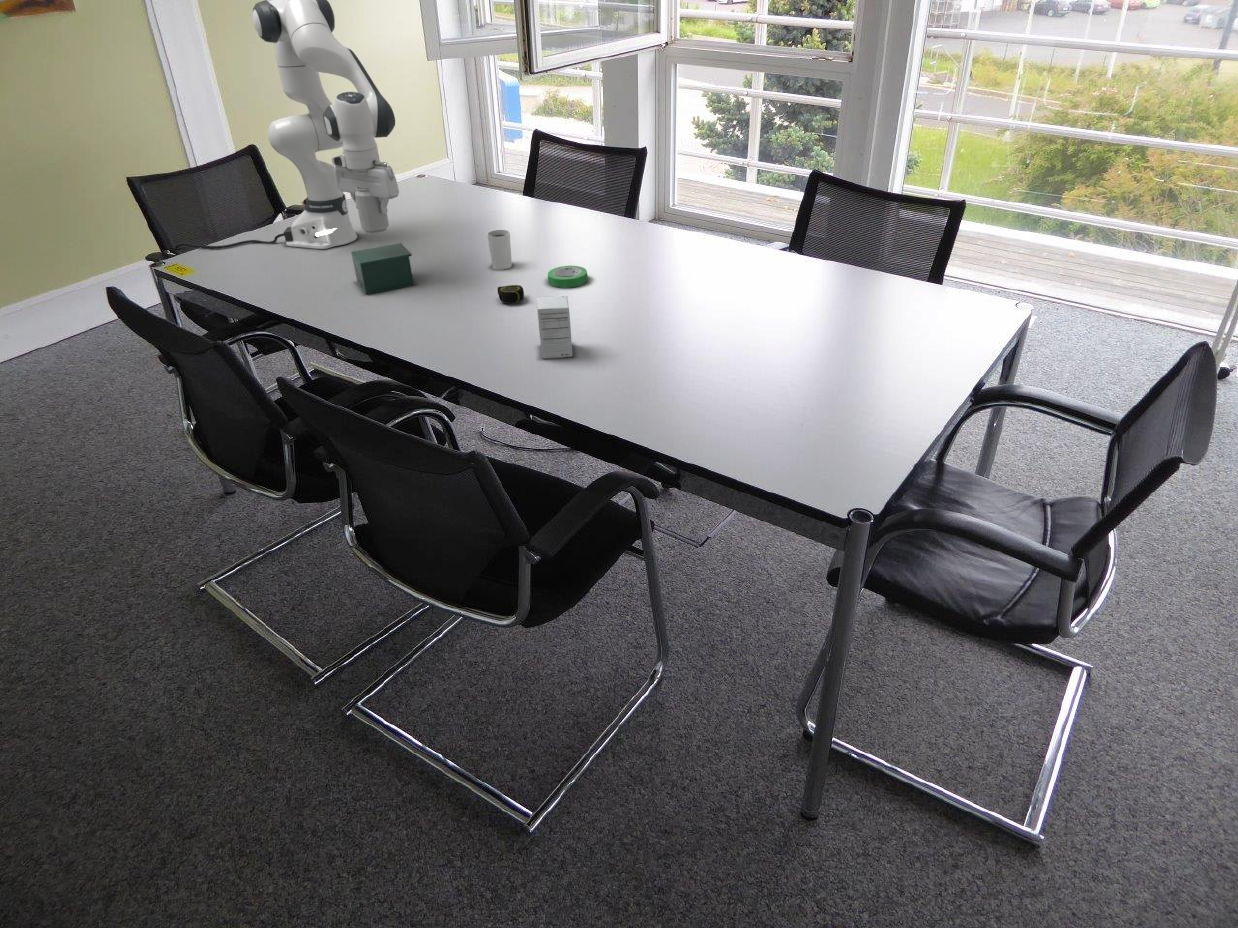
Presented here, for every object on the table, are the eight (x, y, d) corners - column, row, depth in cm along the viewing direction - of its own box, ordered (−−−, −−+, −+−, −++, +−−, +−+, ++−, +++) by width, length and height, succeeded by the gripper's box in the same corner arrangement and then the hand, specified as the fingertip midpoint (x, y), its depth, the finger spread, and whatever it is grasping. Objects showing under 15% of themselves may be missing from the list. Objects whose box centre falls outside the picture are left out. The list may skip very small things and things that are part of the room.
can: (393, 225, 244) (385, 182, 237) (384, 234, 237) (376, 189, 231) (367, 225, 244) (359, 182, 238) (358, 234, 238) (349, 190, 232)
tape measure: (523, 295, 238) (522, 282, 236) (525, 304, 232) (524, 291, 230) (498, 298, 237) (496, 284, 235) (500, 307, 231) (498, 294, 229)
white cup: (517, 264, 259) (514, 231, 254) (505, 271, 254) (502, 238, 249) (498, 261, 262) (494, 228, 256) (486, 268, 257) (482, 235, 251)
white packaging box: (541, 346, 210) (536, 296, 203) (571, 344, 210) (568, 294, 203) (541, 359, 204) (536, 309, 197) (572, 357, 204) (569, 306, 197)
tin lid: (401, 245, 252) (401, 243, 251) (411, 256, 243) (411, 253, 243) (351, 254, 246) (351, 251, 246) (360, 265, 238) (360, 263, 238)
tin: (403, 273, 256) (398, 245, 251) (413, 285, 247) (409, 256, 243) (357, 282, 251) (351, 254, 246) (366, 294, 242) (360, 266, 238)
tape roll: (540, 282, 246) (539, 273, 244) (568, 271, 252) (567, 262, 251) (567, 291, 239) (567, 282, 238) (595, 279, 246) (595, 270, 245)
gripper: (399, 160, 228) (408, 212, 236) (344, 153, 237) (354, 203, 245) (381, 166, 224) (391, 219, 231) (326, 158, 233) (337, 209, 240)
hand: (372, 211), depth 238 cm, fingers closed on can, 7 cm apart
